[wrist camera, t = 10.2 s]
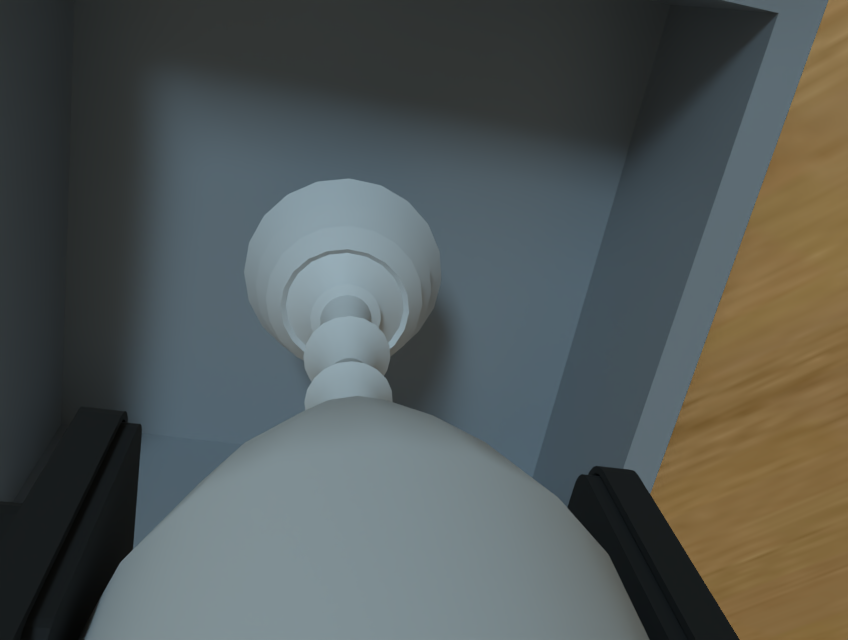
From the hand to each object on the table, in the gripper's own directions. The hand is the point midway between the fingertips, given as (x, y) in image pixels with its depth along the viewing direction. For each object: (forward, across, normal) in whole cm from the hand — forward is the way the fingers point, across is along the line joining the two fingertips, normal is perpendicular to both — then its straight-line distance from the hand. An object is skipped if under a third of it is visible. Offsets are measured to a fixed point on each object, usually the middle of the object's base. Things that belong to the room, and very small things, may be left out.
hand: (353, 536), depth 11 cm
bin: (+16, 0, 0) cm, 16 cm away
